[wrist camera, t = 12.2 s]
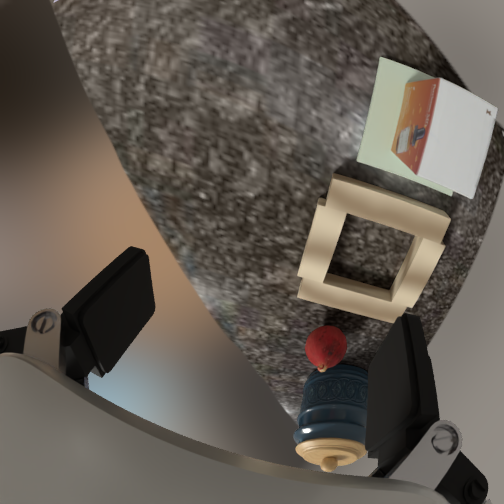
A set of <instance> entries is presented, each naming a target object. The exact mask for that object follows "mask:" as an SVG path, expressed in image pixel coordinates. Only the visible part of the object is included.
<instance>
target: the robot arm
mask: <svg viewBox="0 0 504 504" xmlns="http://www.w3.org/2000/svg"><path fill="white" fill-rule="evenodd" d="M62 310H63V313H62V314H61V315H60V314H59V312H58V311H56V310H55V309H51V308H49V309H47V308H46V309H43V310H40V311H38V312H36V313H35V314H34V315H33V316H32V317H31V319H30V320H29V322H28V326H26V327H21V328H16V329H10V330H6V331H0V504H491V501H490V499H488V500H486V499H485V498H486V496H487V493H488V483H487V479H486V478H485V476H484V475H483V474H482V473H481V472H480V471H479V470H478V469H477V468H476V467H475V466H474V465H473V464H472V463H471V461H470V460H469V459H468V458H467V457H466V456H465V455H464V454H463V453H462V452H461V451H460V449H461V447H462V436H461V432H460V431H459V429H458V427H457V426H456V425H455V424H454V423H452V422H451V421H447V420H440V418H439V409H438V401H437V393H436V387H435V380H434V374H433V369H432V363H431V359H430V357H429V356H428V351H427V346H426V341H425V337H424V332H423V328H422V324H421V320H420V317H419V316H416V315H411V314H407V313H404V314H403V315H402V317H401V316H398V317H397V319H396V320H395V322H394V324H393V326H392V328H391V329H390V331H389V333H388V335H387V336H386V338H385V340H384V341H383V343H382V345H381V346H380V348H379V350H378V351H377V353H376V355H375V356H374V358H373V359H372V361H371V363H370V365H369V368H368V400H367V422H366V437H365V450H367V451H368V458H378V467H377V468H376V469H375V470H374V471H373V472H372V473H371V474H370V475H369V476H368V477H363V476H352V475H341V474H333V473H327V472H319V471H313V470H306V469H300V468H294V467H289V466H284V465H280V464H275V463H270V462H266V461H262V460H258V459H254V458H250V457H247V456H243V455H239V454H236V453H232V452H229V451H226V450H223V449H219V448H216V447H213V446H210V445H207V444H204V443H202V442H199V441H196V440H193V439H190V438H188V437H185V436H183V435H180V434H177V433H175V432H173V431H170V430H168V429H166V428H163V427H161V426H159V425H156V424H154V423H152V422H150V421H147V420H145V419H143V418H141V417H139V416H137V415H135V414H133V413H131V412H129V411H127V410H125V409H123V408H121V407H119V406H117V405H115V404H114V403H112V402H110V401H108V400H106V399H104V398H102V397H101V396H99V395H97V394H96V393H94V392H92V391H91V390H89V383H88V374H89V373H90V372H92V373H94V374H96V375H97V376H99V377H101V378H102V377H103V376H104V375H105V373H109V372H110V371H111V370H112V368H113V367H114V366H115V364H116V363H117V362H118V360H119V359H120V358H121V356H122V355H123V354H124V352H125V351H126V350H127V348H128V347H129V346H130V344H131V343H132V342H133V340H134V339H135V338H136V336H137V335H138V334H139V332H140V331H141V330H142V328H143V327H144V326H145V324H146V323H147V322H148V321H149V319H150V318H151V317H152V315H153V314H154V311H155V301H154V294H153V287H152V280H151V272H150V264H149V257H148V255H147V254H146V252H145V250H143V249H140V248H136V247H132V246H131V247H129V248H127V249H126V250H125V251H124V252H123V253H122V254H120V255H119V256H118V257H117V258H116V259H115V260H113V262H111V263H110V264H109V265H108V266H107V267H106V268H104V269H103V270H102V271H101V272H100V273H99V274H98V275H97V276H95V278H93V279H92V280H91V281H90V282H89V283H88V284H87V285H86V286H85V287H84V288H82V289H81V290H80V291H79V292H78V293H77V294H76V295H75V296H74V297H73V298H72V299H71V300H70V301H69V302H68V303H67V304H66V305H65V306H64V307H63V308H62Z"/></svg>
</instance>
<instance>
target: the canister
mask: <svg viewBox="0 0 504 504" xmlns="http://www.w3.org/2000/svg"><path fill="white" fill-rule="evenodd" d="M367 400H368V372H367V371H365V370H364V369H362V368H359V367H356V366H352V365H343V364H339V365H335V366H333V367H330V368H327V370H326V371H325V372H320V371H319V370H318V369H317V370H315V371H314V372H312V373H311V374H310V375H309V377H308V378H307V381H306V383H305V385H304V389H303V399H302V404H301V409H300V413H299V415H298V418H297V422H298V424H299V428H298V429H297V430H296V431H295V432H294V435H293V437H294V440H295V442H296V443H297V444H298V445H297V446H296V452H297V453H298V454H299V455H300V456H302V457H303V458H304V459H305V460H306V461H308V462H310V463H313V464H317V465H321V469H322V470H323V471H325V472H331V471H333V470H335V469H336V467H337V466H341V465H347V464H350V463H353V462H355V461H356V460H357V459H359V458H361V457H363V456H364V455H365V454H366V453H367V450H365V437H366V422H367Z"/></svg>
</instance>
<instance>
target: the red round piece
mask: <svg viewBox="0 0 504 504" xmlns="http://www.w3.org/2000/svg"><path fill="white" fill-rule="evenodd" d="M346 350H347V343H346V337H345V335H344V334H343V333H342V331H341V330H340V329H339V328H337V327H335V326H329V325H326V326H322V327H319V328H317V329H315V330H314V331H312V333H311V334H310V335H309V336H308V338H307V341H306V345H305V351H306V354H307V356H308V359H309V360H310V361H311V362H312V363H313V364H314V365H315V366H318V368H317V369H318V370H319V371H320V372H325V371H326V370H327V368H330V367H333V366H335V365H336V364H338V363H339V362H340V361H341V360H342V359H343V357H344V355H345V353H346Z"/></svg>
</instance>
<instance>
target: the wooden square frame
mask: <svg viewBox="0 0 504 504" xmlns="http://www.w3.org/2000/svg"><path fill="white" fill-rule="evenodd" d="M347 213H348V214H352V215H355V216H358V217H361V218H365V219H368V220H371V221H374V222H377V223H380V224H384V225H387V226H390V227H393V228H396V229H399V230H402V231H405V232H408V233H410V234H413V235H415V237H414V240H413V242H412V244H411V247H410V249H409V251H408V253H407V255H406V257H405V260H404V262H403V264H402V266H401V268H400V270H399V272H398V274H397V276H396V278H395V280H394V282H393V284H392V286H391V288H390V290H386V289H383V288H379V287H376V286H372V285H369V284H365V283H362V282H358V281H355V280H351V279H348V278H344V277H341V276H337V275H334V274H330V273H326V272H327V270H328V267H329V264H330V261H331V259H332V256H333V253H334V250H335V247H336V244H337V241H338V239H339V236H340V233H341V230H342V227H343V224H344V220H345V217H346V214H347ZM450 221H451V219H450V217H449V216H448V215H447V214H446V213H445V211H443V210H440V209H438V208H435V207H433V206H430V205H428V204H425V203H423V202H420V201H417V200H415V199H412V198H409V197H407V196H404V195H401V194H398V193H395V192H392V191H390V190H387V189H384V188H381V187H378V186H375V185H372V184H369V183H365V182H362V181H359V180H356V179H353V178H349V177H346V176H343V175H339V174H336V173H333V175H332V179H331V183H330V186H329V190H328V194H327V197H326V199H324V198H320V197H319V200H318V204H317V207H316V211H315V215H314V218H313V222H312V226H311V229H310V233H309V236H308V240H307V243H306V246H305V250H304V253H303V257H302V260H301V263H300V267H299V271H298V275H297V276H299V277H303V278H302V281H301V284H300V287H299V292H298V296H297V297H298V298H301V299H305V300H308V301H312V302H315V303H319V304H323V305H326V306H330V307H334V308H337V309H341V310H345V311H348V312H352V313H356V314H360V315H363V316H367V317H371V318H375V319H379V320H383V321H387V322H391V323H394V322H395V320H396V319H397V317H398V316H402V314H403V313H404V311H405V309H406V308H407V307H411V308H412V307H413V306H414V304H415V302H416V301H417V299H418V297H419V296H420V294H421V292H422V290H423V288H424V287H425V285H426V283H427V281H428V279H429V278H430V276H431V274H432V272H433V270H434V268H435V266H436V264H437V262H438V260H439V258H440V256H441V254H442V252H443V250H444V248H445V245H444V243H443V241H442V239H443V237H444V235H445V232H446V230H447V228H448V226H449V223H450Z"/></svg>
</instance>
